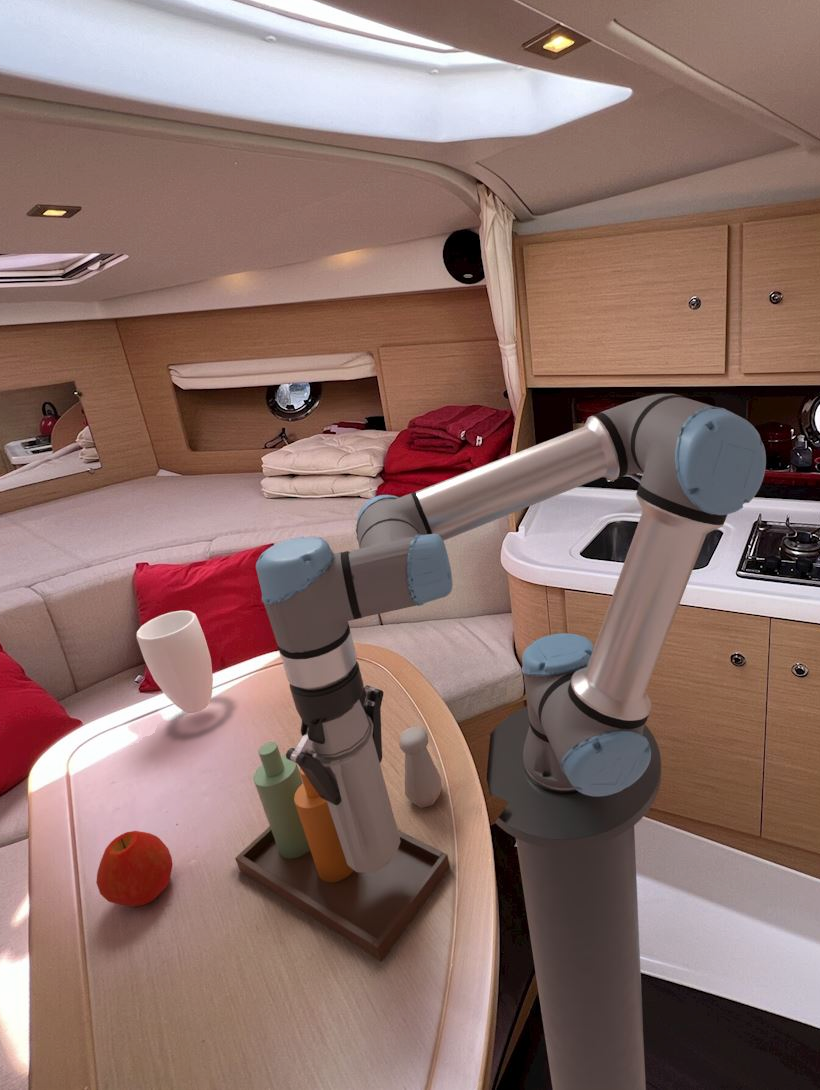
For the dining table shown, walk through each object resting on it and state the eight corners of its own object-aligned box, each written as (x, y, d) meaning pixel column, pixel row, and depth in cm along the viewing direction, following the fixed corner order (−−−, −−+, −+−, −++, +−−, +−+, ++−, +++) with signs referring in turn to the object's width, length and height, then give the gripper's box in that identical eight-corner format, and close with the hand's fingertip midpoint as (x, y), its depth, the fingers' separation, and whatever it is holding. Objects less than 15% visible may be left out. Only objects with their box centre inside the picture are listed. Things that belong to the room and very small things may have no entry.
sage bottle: (320, 821, 93) (292, 729, 86) (316, 852, 87) (285, 757, 81) (282, 830, 91) (250, 738, 85) (275, 863, 86) (241, 768, 80)
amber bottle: (360, 841, 89) (333, 747, 82) (358, 876, 83) (329, 778, 77) (320, 852, 87) (289, 757, 81) (315, 887, 82) (283, 789, 76)
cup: (233, 693, 124) (201, 603, 116) (228, 725, 115) (194, 630, 107) (176, 709, 121) (139, 618, 113) (167, 743, 112) (126, 647, 104)
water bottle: (347, 834, 83) (301, 688, 73) (405, 821, 84) (368, 676, 74) (337, 898, 74) (284, 744, 65) (402, 883, 75) (359, 729, 66)
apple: (102, 930, 80) (71, 874, 76) (125, 874, 87) (98, 821, 83) (170, 910, 82) (143, 855, 78) (187, 857, 89) (164, 804, 85)
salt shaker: (404, 814, 93) (388, 749, 88) (411, 784, 98) (396, 721, 94) (441, 810, 93) (428, 745, 88) (446, 781, 98) (434, 718, 94)
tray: (450, 867, 84) (447, 854, 83) (381, 961, 73) (377, 948, 72) (315, 799, 97) (311, 787, 96) (239, 870, 86) (234, 858, 85)
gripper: (345, 631, 75) (380, 774, 84) (249, 698, 64) (301, 854, 73) (390, 645, 72) (422, 792, 80) (296, 718, 61) (345, 880, 70)
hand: (364, 822), depth 77 cm, fingers closed
